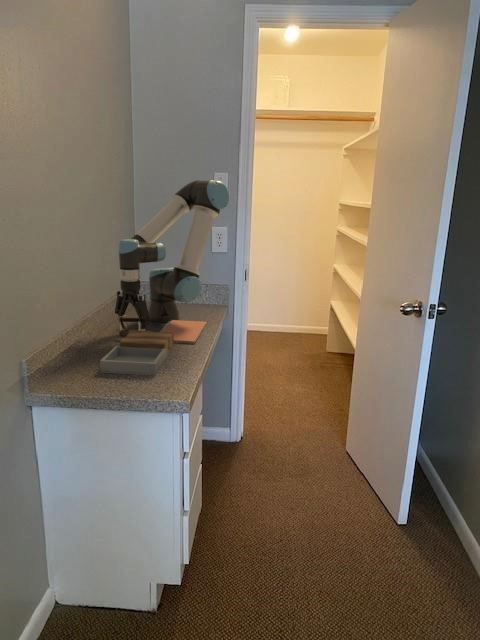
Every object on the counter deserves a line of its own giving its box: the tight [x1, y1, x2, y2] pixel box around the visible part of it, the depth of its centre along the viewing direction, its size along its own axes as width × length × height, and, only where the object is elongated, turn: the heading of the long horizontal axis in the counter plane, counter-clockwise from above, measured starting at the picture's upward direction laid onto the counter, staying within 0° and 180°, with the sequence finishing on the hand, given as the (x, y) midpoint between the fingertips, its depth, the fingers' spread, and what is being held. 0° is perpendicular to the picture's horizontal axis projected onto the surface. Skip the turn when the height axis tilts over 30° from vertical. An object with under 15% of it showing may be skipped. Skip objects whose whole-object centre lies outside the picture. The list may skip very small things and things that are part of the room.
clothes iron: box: [118, 317, 140, 338], centre depth 181 cm, size 7×11×10 cm, turn 80°
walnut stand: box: [119, 329, 175, 355], centre depth 166 cm, size 14×16×5 cm
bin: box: [99, 345, 168, 376], centre depth 151 cm, size 16×18×4 cm
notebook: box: [159, 319, 208, 345], centre depth 187 cm, size 27×17×2 cm, turn 174°
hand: (132, 333), depth 182 cm, fingers closed on clothes iron, 10 cm apart
